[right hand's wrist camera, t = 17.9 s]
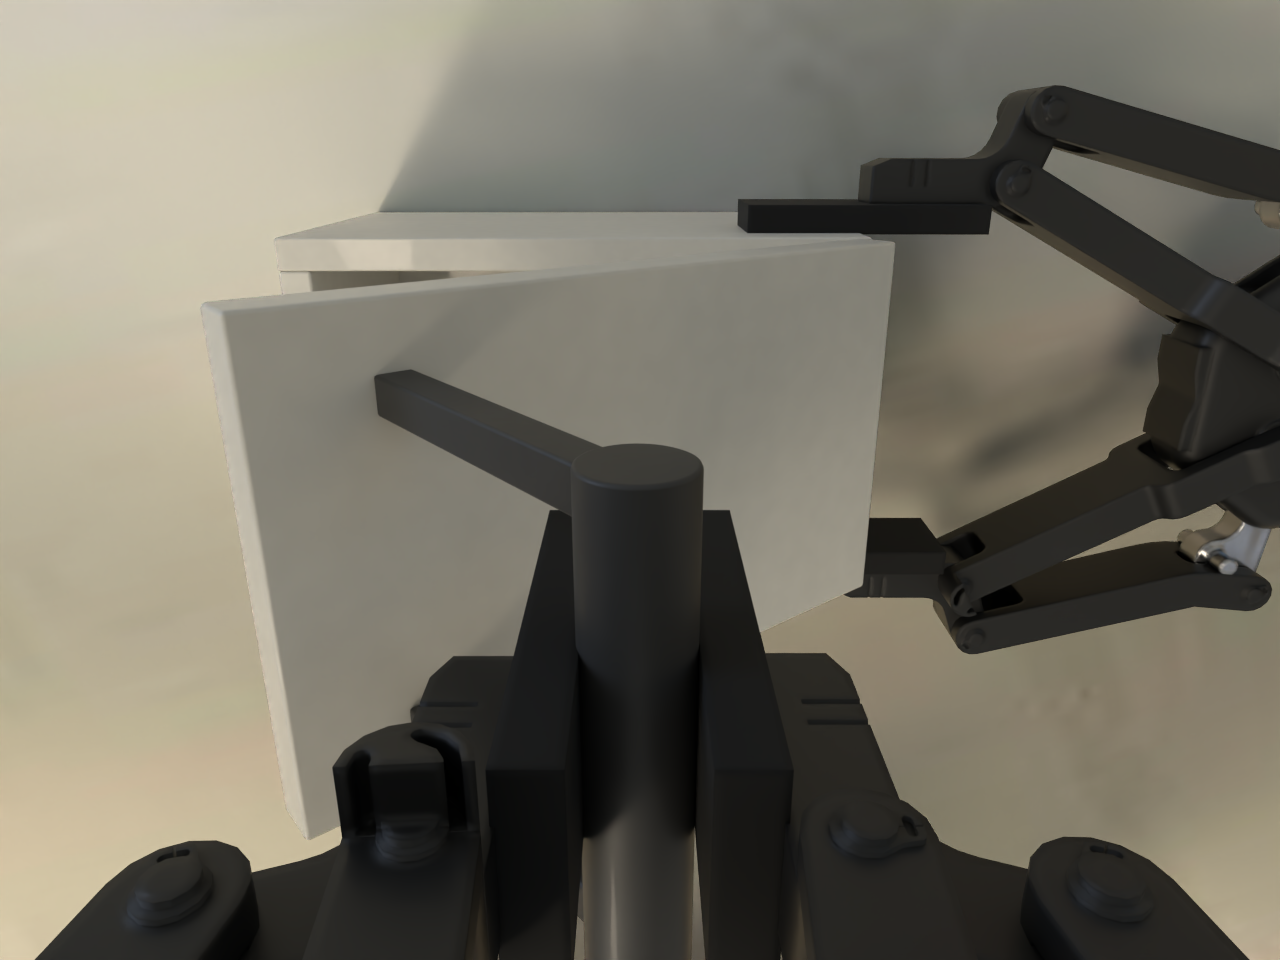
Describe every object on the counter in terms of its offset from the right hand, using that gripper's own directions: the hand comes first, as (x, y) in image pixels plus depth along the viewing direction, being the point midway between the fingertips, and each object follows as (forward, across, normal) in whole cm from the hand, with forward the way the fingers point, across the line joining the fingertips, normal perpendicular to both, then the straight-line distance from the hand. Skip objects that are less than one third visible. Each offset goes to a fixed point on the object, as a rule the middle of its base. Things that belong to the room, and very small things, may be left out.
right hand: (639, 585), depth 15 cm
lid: (+5, +1, 0) cm, 5 cm away
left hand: (+13, -3, 0) cm, 13 cm away
